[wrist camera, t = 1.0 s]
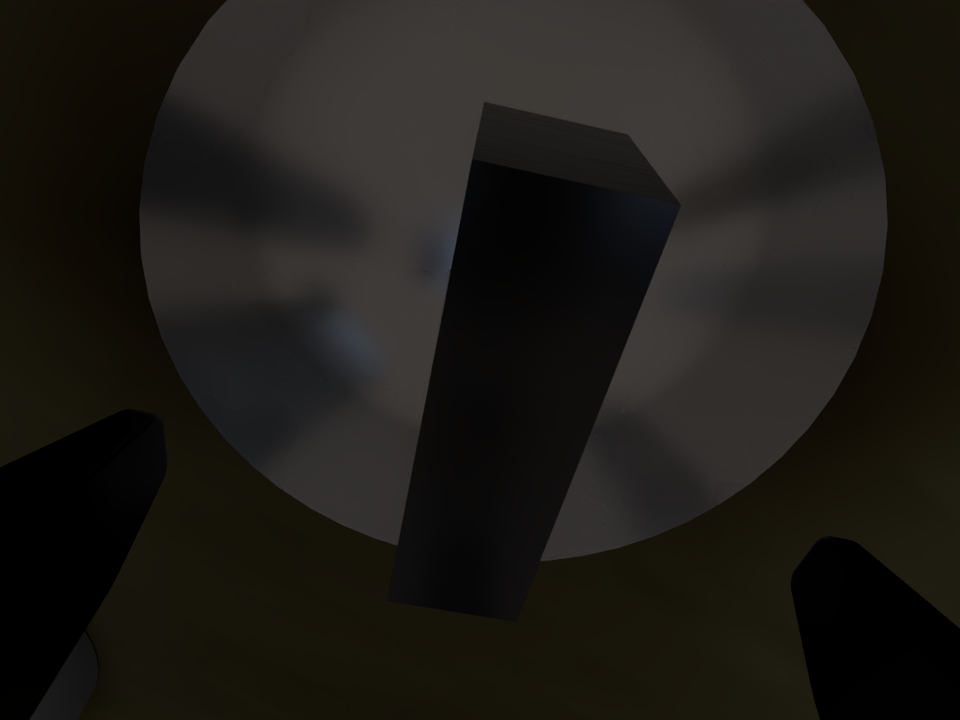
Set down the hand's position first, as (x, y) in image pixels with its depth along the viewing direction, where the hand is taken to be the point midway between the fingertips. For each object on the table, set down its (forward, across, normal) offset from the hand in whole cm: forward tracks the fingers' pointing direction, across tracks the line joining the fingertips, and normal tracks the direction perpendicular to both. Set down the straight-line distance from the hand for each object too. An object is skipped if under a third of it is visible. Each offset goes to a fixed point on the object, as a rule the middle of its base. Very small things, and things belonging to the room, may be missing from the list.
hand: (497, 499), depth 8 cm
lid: (+6, 0, 0) cm, 6 cm away
